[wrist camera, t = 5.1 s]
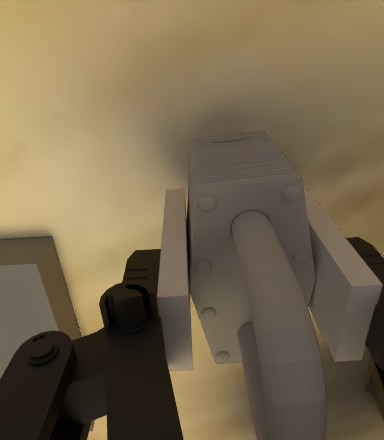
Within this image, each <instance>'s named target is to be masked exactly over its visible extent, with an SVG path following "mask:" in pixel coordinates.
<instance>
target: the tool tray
mask: <svg viewBox="0 0 384 440" xmlns="http://www.w3.org/2000/svg"><path fill="white" fill-rule="evenodd" d="M53 330H54V331H61V332H64V333H65V334H67V335H69V337H70V339H71V340H74V339H77V338H81V334H80V331H79V327H78V324H77V321H76V317H75V314H74V310H73V307H72V304H71V300H70V297H69V293H68V290H67V286H66V283H65V280H64V276H63V273H62V269H61V266H60V263H59V259H58V256H57V252H56V249H55V246H54V242H53V239H52V237H38V238H21V239H3V240H0V379H1V377H2V375H3V373H4V372H5V370H6V368H7V366H8V364H9V363H10V361H11V359H12V357H13V355H14V354H15V352H16V351H17V350H18V348H19V347H20V346H21V344H23V343H24V342H25V341H27V340H28V339H29V338H31V337H32V336H35V335H37V334H39V333H42V332H47V331H53ZM94 421H95V420H92V422H91V426H90V430H89V431H93V426H94Z"/></svg>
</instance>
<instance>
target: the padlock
mask: <svg viewBox="0 0 384 440" xmlns="http://www.w3.org/2000/svg"><path fill="white" fill-rule="evenodd" d="M187 245H188V275H189V291H190V294H191V297H192V299H193V302H194V305H195V308H196V310H197V313H198V316H199V319H200V321H201V324H202V327H203V330H204V332H205V335H206V338H207V341H208V344H209V346H210V349H211V352H212V355H213V357H214V360H215V362H216V363H217V364H225V363H236V362H243V366H244V372H245V377H246V383H247V388H248V393H249V399H250V404H251V409H252V415H253V420H254V426H255V431H256V436H257V440H325V434H326V391H325V384H324V376H323V368H322V361H321V356H320V351H319V346H318V342H317V337H316V333H315V329H314V326H313V323H312V319H311V316H310V313H309V310H308V304H309V301H310V297H311V294H312V290H313V287H314V283H315V280H316V279H315V271H314V263H313V255H312V248H311V240H310V232H309V224H308V217H307V209H306V201H305V193H304V185H303V180H302V177H301V175H300V174H299V173H298V172H297V171H296V169H295V168H294V167H293V166H292V164H291V163H290V162H289V161H288V159H287V158H286V157H285V156H284V155H283V153H282V152H281V151H280V150H279V149H278V147H277V146H276V145H275V144H274V143H273V141H272V140H271V139H270V138H269V136H268V135H267V134H266V133H265V132H263V131H259V132H250V133H242V134H233V135H224V136H215V137H207V138H198V139H194V140H192V142H191V150H190V169H189V188H188V207H187Z"/></svg>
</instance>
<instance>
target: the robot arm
mask: <svg viewBox="0 0 384 440" xmlns="http://www.w3.org/2000/svg"><path fill="white" fill-rule="evenodd" d="M304 193H305V201H306V209H307V217H308V224H309V232H310V240H311V248H312V255H313V263H314V271H315V279H316V280H315V283H314V287H313V290H312V294H311V297H310V301H309V304H308V305H309V307H310V309H311V312H312V314H313V316H314V318H315V320H316V322H317V324H318V327H319V329H320V331H321V333H322V335H323V337H324V339H325V342H326V344H327V346H328V348H329V350H330V352H331V354H332V356H333V359H334V361H335V362H337V361H355V360H362V357H363V353H364V350H365V346H366V347H367V348H368V350H369V352H370V353H371V355H372V357H373V360H372V364H371V367H370V370H369V373H368V377H367V380H366V383H365V391H366V392H370V395H371V397H372V399H373V401H374V403H375V405H376V407H377V409H378V411H379V413H380V415H381V416H382V418H383V420H384V258H383V257H382V256H381V254H380V253H379V252H378V251H377V250H376V249H375V248H374V247H373V245H371V244H369V243H368V242H366V241H364V240H363V239H361V238H359V237H353V238H345V237H344V235H343V234H342V233H341V232H340V230H339V229H338V228H337V227H336V225H335V224H334V223H333V222H332V220H331V219H330V218H329V217H328V215H327V214H326V213H325V212H324V210H323V209H322V208H321V207H320V205H319V204H318V203H317V202H316V200H315V199H314V198H313V197H312V195H311V194H310V193H309V192H308V190H307V189H306V188H305V187H304ZM99 306H100V310H101V314H102V319H103V323H104V328H102V329H100V330H99V331H97V332H95V333H92V334H90V335H87V336H84V337H81V338H77V339H74V340H71V339H70V337H69V335H67V334H65V333H64V332H61V331H54V330H53V331H47V332H42V333H39V334H37V335H35V336H32V337H31V338H29V339H28V340H27V341H25V342H24V343H23V344H21V346H20V347H19V348H18V350H17V351H16V352H15V354H14V355H13V357H12V359H11V361H10V363H9V364H8V366H7V368H6V370H5V372H4V373H3V375H2V377H1V379H0V440H87V437H88V433H89V430H90V426H91V422H92V420H95V419H98V418H100V417H103V416H105V415H107V439H108V440H183V435H182V430H181V425H180V421H179V416H178V411H177V407H176V402H175V397H174V392H173V388H172V383H171V378H170V373H169V371H178V370H193V362H192V336H191V311H190V291H189V275H188V245H187V221H186V204H185V188H180V189H166V197H165V209H164V221H163V233H162V244H161V249H152V250H135V251H134V253H133V254H132V255H131V256H130V257H129V258H128V259H127V263H126V268H125V272H124V277H123V281H122V283H119V284H116V285H114V286H112V287H111V288H109V289H108V290H106V292H105V293H104V294H103V295H102V296H101V299H100V303H99Z"/></svg>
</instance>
